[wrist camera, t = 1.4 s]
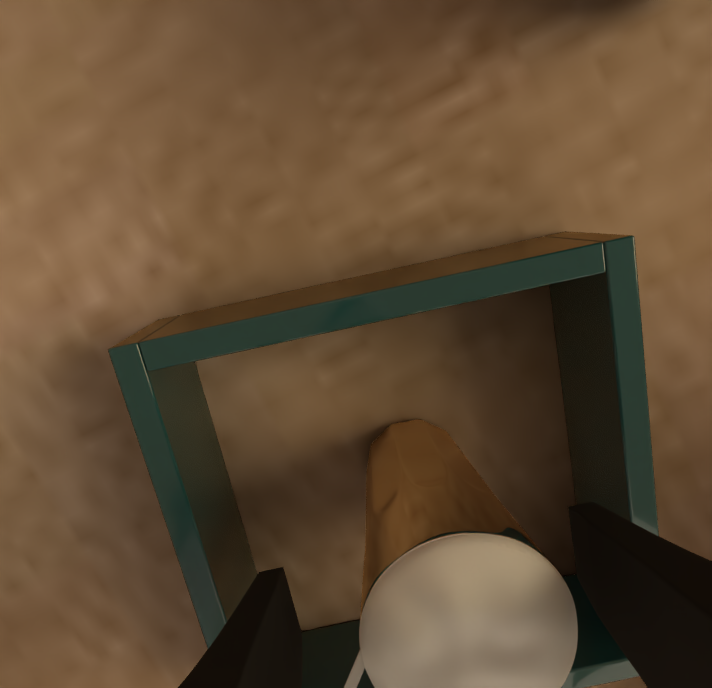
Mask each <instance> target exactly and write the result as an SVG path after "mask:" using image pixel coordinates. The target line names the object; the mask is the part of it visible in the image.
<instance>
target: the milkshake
mask: <svg viewBox="0 0 712 688" xmlns="http://www.w3.org/2000/svg"><path fill="white" fill-rule="evenodd" d="M577 640H578V625H577V614H576V608H575V604H574V601H573V598H572V595H571V592H570V590H569V588H568V586H567V584H566V582H565V581H564V579H563V577H562V576H561V574H560V573H559V572H558V571H557V569H556V568H555V567H554V566H553V564H552V563H551V562H550V561H549V560H548V558H547V557H546V556H545V555H544V554H543V552H542V551H541V550H540V549H539V548H538V546H537V545H536V544H535V543H534V542H533V540H532V539H531V538H530V537H529V536H528V534H527V533H526V532H525V531H524V530H523V528H522V527H521V526H520V525H519V524H518V522H517V521H516V520H515V519H514V518H513V516H512V515H511V514H510V513H509V512H508V511H507V509H506V508H505V507H504V506H503V504H502V503H501V502H500V501H499V500H498V498H497V497H496V496H495V494H494V493H493V492H492V491H491V489H490V488H489V487H488V485H487V484H486V483H485V481H484V480H483V479H482V477H481V476H480V475H479V473H478V472H477V471H476V469H475V468H474V467H473V465H472V464H471V463H470V462H469V460H468V459H467V458H466V456H465V455H464V454H463V452H462V451H461V450H460V448H459V447H458V446H457V444H456V443H455V442H454V440H453V439H452V438H451V436H450V435H449V434H448V433H447V431H446V430H444V429H441V428H439V427H437V426H434V425H432V424H430V423H428V422H426V421H423V420H421V419H417V420H411V421H406V422H400V423H395V424H391V425H390V426H389V427H388V428H387V429H386V430H385V431H384V432H383V433H382V434H381V435H380V436H379V437H378V438H377V439H376V440H375V441H373V442H372V443H371V446H370V452H369V459H368V465H367V471H366V530H365V555H364V567H363V582H362V597H361V613H360V627H359V643H360V650H359V652H358V654H357V657H356V659H355V661H354V664H353V666H352V668H351V671H350V673H349V675H348V678H347V680H346V682H345V685H344V687H343V688H357V686H358V684H359V681H360V679H361V676H362V674H363V671H364V669H366V672H367V674H368V676H369V678H370V680H371V682H372V684H373V686H374V687H375V688H561V687H562V685H563V684H564V682H565V680H566V679H567V677H568V674H569V672H570V670H571V667H572V665H573V662H574V659H575V654H576V649H577Z"/></svg>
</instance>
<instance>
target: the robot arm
mask: <svg viewBox="0 0 712 688" xmlns="http://www.w3.org/2000/svg"><path fill="white" fill-rule="evenodd" d="M568 509H569V517H570V525H571V533H572V541H573V549H574V557H575V565H576V573H577V578H578V580H579V582H580V584H581V586H582V588H583V589H584V591H585V593H586V595H587V597H588V599H589V601H590V603H591V604H592V606H593V608H594V610H595V612H596V614H597V615H598V617H599V618H600V620H601V621H602V623H603V624H604V626H605V627H606V629H607V630H608V631H609V633H610V634H611V636H612V637H613V639H614V640H615V642H616V643H617V644H618V646H619V647H620V649H621V650H622V652H623V653H624V654H625V656H626V657H627V659H628V660H629V662H630V663H631V664H632V666H633V667H634V669H635V670H636V671H637V673H638V674H639V676H640V677H641V679H642V680H643V681H644V683H645V684H646V686H647V687H648V688H712V561H710V560H708V559H705V558H703V557H701V556H699V555H697V554H694V553H692V552H690V551H688V550H686V549H683V548H681V547H679V546H677V545H675V544H673V543H671V542H669V541H667V540H665V539H663V538H661V537H659V536H657V535H655V534H653V533H651V532H649V531H647V530H646V529H644V528H642V527H640V526H638V525H636V524H634V523H632V522H630V521H629V520H627V519H625V518H623V517H621V516H619V515H617V514H616V513H614V512H612V511H610V510H608V509H606V508H604V507H603V506H601V505H599V504H597V503H595V502H588V503H583V504H579V505H574V506H569V507H568ZM301 687H302V633H301V629H300V626H299V622H298V619H297V615H296V611H295V608H294V604H293V601H292V597H291V594H290V590H289V587H288V583H287V580H286V576H285V572H284V569H283V567H281V568H276V569H272V570H267V571H262V572H259V573H258V575H257V576H256V577H255V579H254V581H253V582H252V584H251V585H250V587H249V588H248V590H247V591H246V593H245V595H244V596H243V598H242V599H241V601H240V603H239V604H238V606H237V607H236V609H235V610H234V612H233V613H232V615H231V617H230V618H229V620H228V621H227V623H226V624H225V625H224V627H223V628H222V630H221V631H220V633H219V634H218V636H217V637H216V639H215V640H214V642H213V643H212V644H211V646H210V647H209V649H208V650H207V651H206V653H205V654H204V655H203V657H202V658H201V659H200V661H199V662H198V663H197V665H196V666H195V667H194V669H193V670H192V671H191V672H190V674H189V675H188V676H187V677H186V679H185V680H184V681H183V682H182V683H181V685H180V686H179V687H178V688H301Z"/></svg>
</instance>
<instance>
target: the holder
mask: <svg viewBox="0 0 712 688" xmlns="http://www.w3.org/2000/svg"><path fill="white" fill-rule="evenodd" d="M546 285H549V286H550V294H551V302H552V310H553V318H554V326H555V334H556V342H557V351H558V359H559V367H560V375H561V383H562V391H563V399H564V408H565V416H566V424H567V432H568V440H569V448H570V456H571V465H572V473H573V481H574V489H575V497H576V505H579V504H583V503H588V502H595V503H597V504H599V505H601V506H603V507H604V508H606V509H608V510H610V511H612V512H614V513H616V514H617V515H619V516H621V517H623V518H625V519H627V520H629V521H630V522H632V523H634V524H636V525H638V526H640V527H642V528H644V529H646V530H647V531H649V532H651V533H653V534H655V535H657V536H659V530H658V518H657V506H656V494H655V482H654V470H653V457H652V445H651V433H650V421H649V409H648V396H647V384H646V372H645V360H644V348H643V336H642V323H641V311H640V299H639V287H638V275H637V263H636V250H635V238H634V236H632V235H617V234H600V233H584V232H567V231H565V232H560V233H556V234H551V235H547V236H545V237H537V238H533V239H528V240H523V241H519V242H514V243H510V244H505V245H500V246H496V247H491V248H486V249H482V250H477V251H473V252H468V253H463V254H459V255H454V256H450V257H445V258H440V259H436V260H431V261H426V262H422V263H417V264H413V265H408V266H403V267H399V268H394V269H390V270H385V271H380V272H376V273H371V274H366V275H362V276H357V277H353V278H348V279H343V280H339V281H334V282H330V283H325V284H320V285H316V286H311V287H306V288H302V289H297V290H293V291H288V292H283V293H279V294H274V295H270V296H265V297H260V298H256V299H251V300H246V301H242V302H237V303H233V304H228V305H223V306H219V307H214V308H209V309H205V310H200V311H196V312H191V313H186V314H182V315H181V316H180V315H177V316H173V317H168V318H163V319H159V320H157V321H155V322H154V323H152V324H150V325H149V326H147V327H145V328H143V329H142V330H140V331H138V332H137V333H135V334H133V335H132V336H130V337H128V338H126V339H125V340H123V341H121V342H120V343H118V344H116V345H115V346H113V347H111V348H110V349H108V352H109V355H110V358H111V361H112V364H113V367H114V370H115V373H116V376H117V379H118V382H119V385H120V388H121V391H122V394H123V397H124V400H125V403H126V406H127V409H128V412H129V415H130V418H131V421H132V424H133V427H134V430H135V433H136V436H137V439H138V442H139V445H140V448H141V451H142V454H143V457H144V460H145V463H146V466H147V469H148V472H149V474H150V477H151V480H152V483H153V486H154V489H155V492H156V495H157V498H158V501H159V504H160V507H161V510H162V513H163V516H164V519H165V522H166V525H167V528H168V531H169V534H170V537H171V540H172V543H173V546H174V549H175V552H176V555H177V558H178V561H179V564H180V567H181V570H182V573H183V576H184V579H185V582H186V585H187V588H188V591H189V594H190V597H191V600H192V603H193V606H194V609H195V612H196V615H197V618H198V621H199V624H200V627H201V630H202V633H203V635H204V638H205V641H206V644H207V647H208V649H209V647H210V646H211V644H212V643H213V642H214V640H215V639H216V637H217V636H218V634H219V633H220V631H221V630H222V628H223V627H224V625H225V624H226V623H227V621H228V620H229V618H230V617H231V615H232V613H233V612H234V610H235V609H236V607H237V606H238V604H239V603H240V601H241V599H242V598H243V596H244V595H245V593H246V591H247V590H248V588H249V587H250V585H251V584H252V582H253V581H254V579H255V577H256V576H257V575H258V574H257V571H256V568H255V564H254V561H253V557H252V554H251V551H250V547H249V544H248V541H247V537H246V534H245V530H244V527H243V524H242V520H241V517H240V514H239V510H238V507H237V503H236V500H235V497H234V493H233V490H232V487H231V483H230V480H229V476H228V473H227V470H226V466H225V463H224V460H223V456H222V453H221V449H220V446H219V443H218V439H217V436H216V432H215V429H214V426H213V422H212V419H211V416H210V412H209V409H208V405H207V402H206V399H205V395H204V392H203V389H202V385H201V382H200V378H199V375H198V372H197V368H196V365H195V362H194V361H199V360H204V359H208V358H213V357H218V356H222V355H227V354H232V353H236V352H241V351H245V350H250V349H255V348H259V347H264V346H269V345H273V344H278V343H282V342H287V341H292V340H296V339H301V338H306V337H310V336H315V335H319V334H324V333H329V332H333V331H338V330H343V329H347V328H352V327H356V326H361V325H366V324H370V323H375V322H380V321H384V320H389V319H394V318H398V317H403V316H407V315H412V314H417V313H421V312H426V311H431V310H435V309H440V308H444V307H449V306H454V305H458V304H463V303H468V302H472V301H477V300H481V299H486V298H491V297H495V296H500V295H505V294H509V293H514V292H519V291H523V290H528V289H532V288H537V287H542V286H546ZM563 579H564V581H565V582H566V584H567V586H568V588H569V590H570V592H571V595H572V598H573V601H574V604H575V608H576V614H577V625H578V640H577V649H576V654H575V659H574V662H573V665H572V667H571V670H570V672H569V674H568V677H567V679H566V680H565V682H564V684H563V685H562V687H561V688H587V687H591V686H596V685H601V684H606V683H610V682H615V681H620V680H624V679H629V678H634V677H639V674H638V673H637V671H636V670H635V669H634V667H633V666H632V664H631V663H630V662H629V660H628V659H627V657H626V656H625V654H624V653H623V652H622V650H621V649H620V647H619V646H618V644H617V643H616V642H615V640H614V639H613V637H612V636H611V634H610V633H609V631H608V630H607V629H606V627H605V626H604V624H603V623H602V621H601V620H600V618H599V617H598V615H597V614H596V612H595V610H594V608H593V606H592V604H591V603H590V601H589V599H588V597H587V595H586V593H585V591H584V589H583V588H582V586H581V584H580V582H579V580H578V578H577V574H573V575H568V576H563ZM359 627H360V620H356V621H351V622H347V623H342V624H337V625H332V626H328V627H323V628H318V629H314V630H309V631H304V632H301V633H302V687H301V688H343V687H344V685H345V682H346V680H347V678H348V675H349V673H350V671H351V668H352V666H353V664H354V661H355V659H356V657H357V654H358V652H359V650H360V643H359ZM357 688H375V687H374V686H373V684H372V682H371V680H370V678H369V676H368V674H367V672H366V669H364V671H363V674H362V676H361V679H360V681H359V684H358V686H357Z"/></svg>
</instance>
